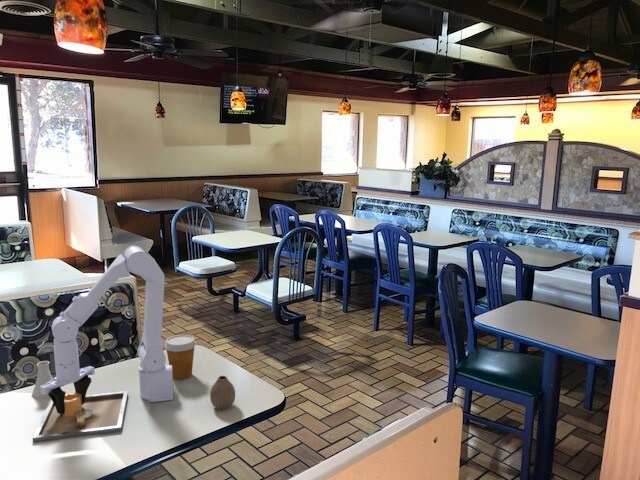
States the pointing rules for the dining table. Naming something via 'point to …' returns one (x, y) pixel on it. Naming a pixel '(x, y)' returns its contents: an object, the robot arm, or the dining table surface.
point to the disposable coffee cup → (180, 355)
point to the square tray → (88, 415)
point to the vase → (222, 393)
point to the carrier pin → (81, 421)
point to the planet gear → (72, 404)
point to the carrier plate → (102, 417)
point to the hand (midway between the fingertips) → (70, 408)
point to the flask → (42, 379)
